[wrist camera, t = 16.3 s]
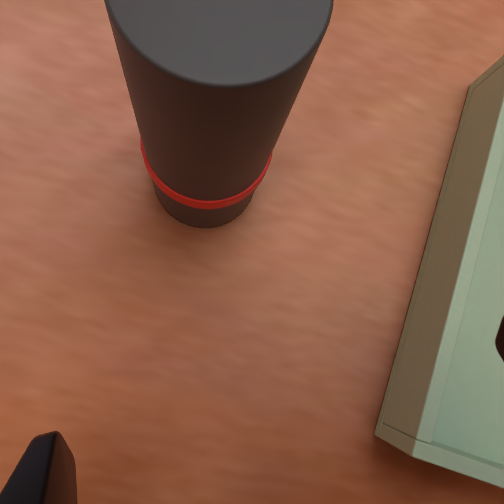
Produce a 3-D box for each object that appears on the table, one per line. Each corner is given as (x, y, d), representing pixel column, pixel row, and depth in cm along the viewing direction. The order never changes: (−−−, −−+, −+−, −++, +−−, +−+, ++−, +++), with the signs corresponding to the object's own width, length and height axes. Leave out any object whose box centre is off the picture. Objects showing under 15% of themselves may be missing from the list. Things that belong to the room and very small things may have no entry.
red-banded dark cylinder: (266, 219, 21) (366, 73, 9) (162, 239, 20) (118, 110, 8) (244, 122, 21) (309, -136, 9) (142, 138, 20) (74, -120, 9)
